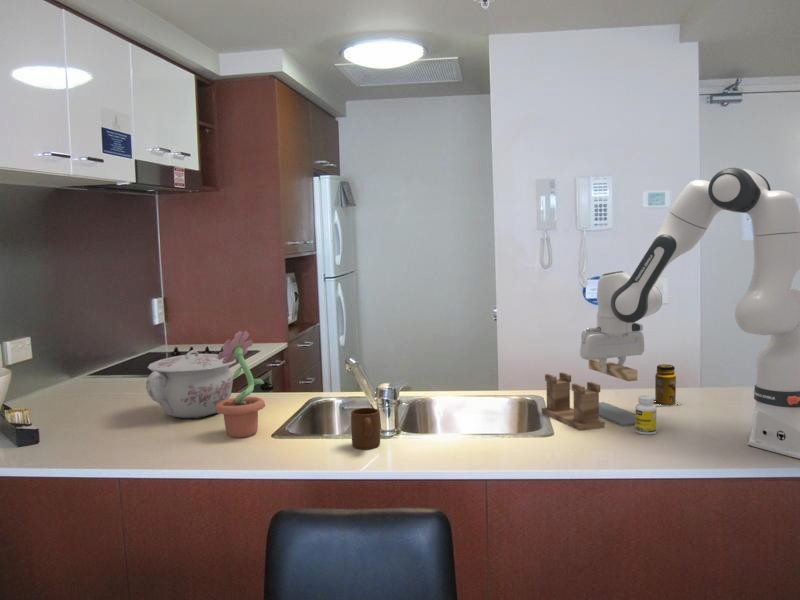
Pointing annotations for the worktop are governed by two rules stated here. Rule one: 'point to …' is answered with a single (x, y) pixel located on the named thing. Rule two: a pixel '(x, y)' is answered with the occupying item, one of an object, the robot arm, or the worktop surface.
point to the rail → (615, 370)
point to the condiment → (665, 386)
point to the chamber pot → (190, 384)
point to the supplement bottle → (646, 415)
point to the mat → (616, 414)
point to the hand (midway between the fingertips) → (612, 372)
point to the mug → (365, 428)
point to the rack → (584, 402)
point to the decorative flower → (240, 409)
